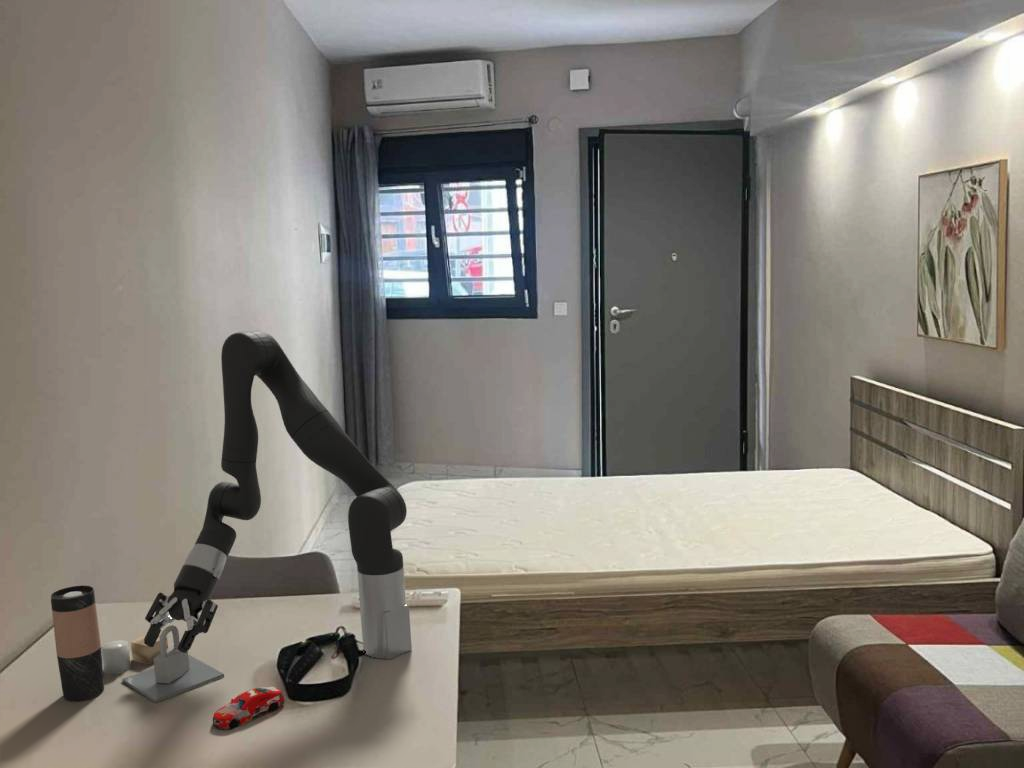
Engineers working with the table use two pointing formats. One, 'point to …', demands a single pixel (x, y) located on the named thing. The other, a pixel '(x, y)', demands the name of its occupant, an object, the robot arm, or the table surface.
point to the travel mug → (77, 642)
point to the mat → (189, 680)
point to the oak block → (145, 650)
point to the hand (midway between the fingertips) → (164, 648)
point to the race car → (248, 707)
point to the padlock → (170, 658)
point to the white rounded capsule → (115, 657)
